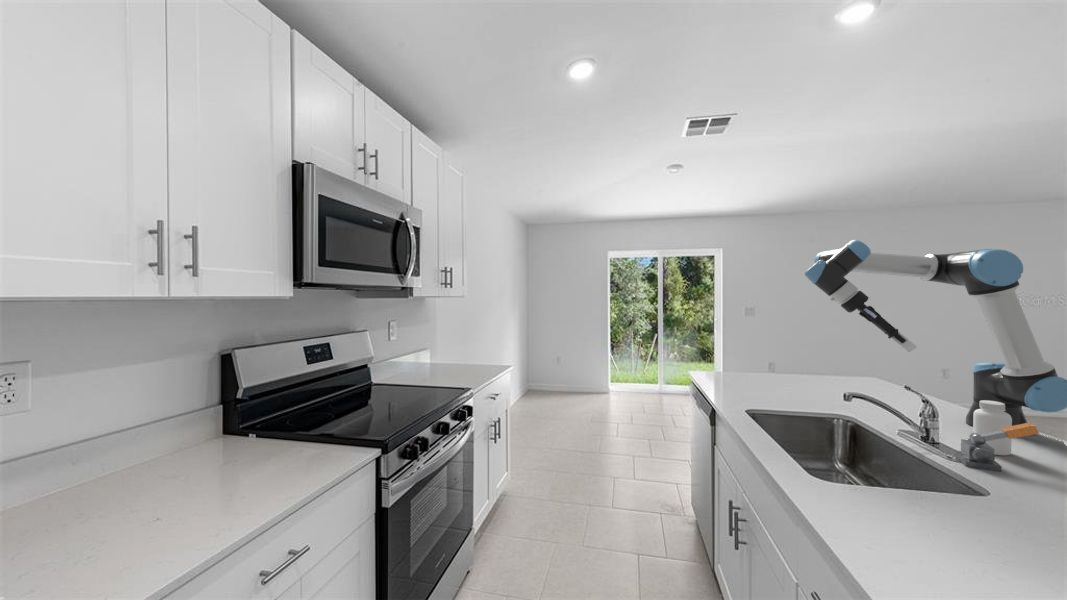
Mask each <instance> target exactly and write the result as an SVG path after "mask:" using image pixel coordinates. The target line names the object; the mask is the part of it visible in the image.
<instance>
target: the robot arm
mask: <svg viewBox="0 0 1067 600" xmlns="http://www.w3.org/2000/svg"><path fill="white" fill-rule="evenodd" d="M851 272H853V273H864V274H877V275H886V276H887V275H888V276H898V277H912V278H919V279H920V280H922V281H927V282H934V283H935V282H936V283H940V284H941V283H942V284H947V285H952V286H954V285H955V286H960V287H961V286H962V287H965V288H966V289H965V290H966V291H967V294H968V296H971V297H973V298H975V299H977V301H978V305H979V306H980V308H981V312H982V313H983V316H984V318H985V322H986V323H987V325H988V329H989V331H990V333H991V336H992V338H993V340H994V342H995V345H996V347H997V350H998V352H999V354H1000V355H999V356H1000V358H1001V360H1002V362H977V363H976V364H974V366H973V367H974V368H973V372H972V374H973V390H972V391H973V392H972V393H973V394H972V395H973V396H972V398H973V400H972V404H971V407H970V408H969V410H968V412H967V414H966V416H965V423H966V425H968V426H971V427H973V414H974V411H975V410H977V409H981V408H980V406H979V401H981V400H988V401H996V402H1001V403H1004V404H1005V410H1006V411H1004V412H1006V413H1008V414H1009V415H1010V416H1011V418H1012V426H1014V425H1019V424H1024V423H1029V422H1028V420H1027V418H1026V416H1025V413H1024V411H1023V407H1025V408H1029V409H1030V410H1032V411H1037V412H1043V413H1057V412H1061V411H1063V410H1066V409H1067V379H1066V378H1064V377H1061V376H1058V373H1057V371H1056V368H1055V366H1054V365H1053V364H1052V363H1049V362H1047V361H1045V359H1044V358H1043V356H1042V352H1041V351H1040V348H1039V345H1038V343H1037V341H1036V338H1035V337H1034V334H1033V331H1032V329H1031V327H1030V324H1029V322H1028V319H1027V317H1026V314H1025V313H1024V311H1023V308H1022V306H1021V303H1020V301H1019V297H1018V296H1017V293H1016V290H1018V288H1019V287H1020V282H1019V279H1021V277H1022V275H1021V274H1023V273H1024V264H1023V262H1022V260H1021V259H1020V258H1019V256H1017V255H1016V254H1015V253H1013V252H1011V251H1008V250H1005V249H1002V248H1001V249H998V248H996V249H994V248H985V249H978V250H971V251H970V250H969V251H960V252H953V253H943V254H941V253H940V254H937V253H936V254H934V253H933V254H932V253H927V254H925V255H923V256H921V255H919V256H918V255H906V254H892V253H881V252H871V248H870V247H869V246H868V245H867V244H866V243H865V242H863V241H861V240H858V239H852V240H849V242H847V243H845V245H844V246H843V247H840V248H835V249H826V250H823V251H820V252H819V253H817V255H815V258H814V264H813V265H812V266H810V267H809V268H808V269H807V270H806V271H805V273H804V276H805V277H806V278H807V279H808V281H810V282H811V283H812V284H813V285H815V286H816V287H817V288H819V289H820V290H821V291H822V292H824V293H825V294H826V295H827V296H828V297H830V301H831V302H833V301H834V302H836V304H840V307H841V308H843V310H845V311H846V312H847V313H853V312H855V311H856V310H857V311H858V312H859V313H858V315H859V316H861V317H863V318H864V319H866V321H868V322H869V323H872V324H873V325H874V326H876V327H877V328H878V329H879V330H880V331H882V332H883V333H884V335H887V336H888V337H887V339H889V340H890V339H892V340H893V341H894V342H895V343H897V344H898V345H899V346H900V347H901V348H902V349H904V350H905V351H906V352H908V353H911V352H912V351H914V350H915V349H917V348H918V346H917V345H915V343H913V342H912V341H911V340H910V339H908V338H907V337H906V336H905V335H903V334H902V333H901V332H899V328H896V327H894V326H893V325H892V324H891V323H890V322H888V321H887V320H886V319H885V318H884V317H882V315H881V314H880V313H879V312H878V311H876V309H875V308H874V307H872V306H871V305H866V304H865V303H866V302H868V300H869V299H870V297H869V296H868V295H867V294H865V293H864V292H863V291H862V290H859V288H858V287H857V286H856V285H854V284H853V283H852V282H851V281H849V280H848V279H847V278H845V277H846V276H848V274H850V273H851Z"/></svg>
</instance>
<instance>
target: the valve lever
mask: <svg viewBox="0 0 1067 600" xmlns="http://www.w3.org/2000/svg"><path fill="white" fill-rule="evenodd" d="M1036 434H1037V435H1038V434H1040V432H1039V431H1038V429H1037V427H1036V425H1035V424H1033V423H1032V422H1031V423H1030V422H1028V423H1024V424H1019V425H1014V426H1009V427H1004V428H1001V430H999V431H994V432H989V433H984V434H977V433H973V432H972V433H970V434H969V436H968V437H969V439H971V440H972V441H973V442H975V443H976V444H978V445H983V444H985V443H986V441H990V440H996V439H1001V438H1006V437H1008V438H1009V439H1017V438H1022V437H1027V436H1033V435H1036Z"/></svg>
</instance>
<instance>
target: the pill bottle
mask: <svg viewBox="0 0 1067 600" xmlns="http://www.w3.org/2000/svg"><path fill="white" fill-rule="evenodd" d="M979 406H980V408H981V409H977V410H975V411H974V414H973V426H972V433H977V434H984V433H989V432H994V431H999V430H1001V428H1004V427H1009V426H1012V418H1011V416H1010V415H1009V414H1008V413H1006V412H1004V411H1006V410H1005V404H1004V403H1001V402H996V401H988V400H981V401H979ZM1012 439H1013V438H1012ZM1012 439H1009V438H1008V437H1006V438H1001V439H996V440H990V441H986V443H987V444H988V445H989V446H991V447H992V448H993V449H995V451H994V455H995V456H1010V455H1011V454H1012Z"/></svg>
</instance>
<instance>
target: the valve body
mask: <svg viewBox="0 0 1067 600" xmlns="http://www.w3.org/2000/svg"><path fill="white" fill-rule="evenodd" d="M994 451H995V449H993V448H992V447H991V446H989V445H988V444H987V443H985V444H983V445H978V444H976V443H975V442H973V441H972V440H971V439H970V438H965V439H964V438H963V439H962V438H961V439H960V450H954V457H955V458H956V459H957V460H959V461H960V462H961V463H962V464H963V465H964V466H965V467H969V468H975V469H982V470H990V471H993V472H995V471H996V472H1002V465H1001V464H1000V463H998V462H997V461H996V455H994Z"/></svg>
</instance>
